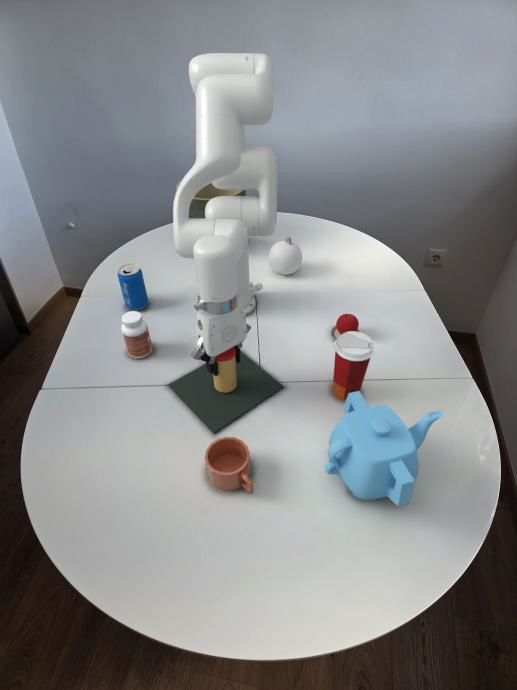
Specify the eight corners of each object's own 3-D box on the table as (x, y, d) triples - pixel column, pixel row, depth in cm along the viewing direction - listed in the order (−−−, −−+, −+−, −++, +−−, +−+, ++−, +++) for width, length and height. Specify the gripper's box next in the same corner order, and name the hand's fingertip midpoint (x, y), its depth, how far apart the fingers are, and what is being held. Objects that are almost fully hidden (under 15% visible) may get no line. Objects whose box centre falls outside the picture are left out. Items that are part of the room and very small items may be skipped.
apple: (325, 339, 112) (328, 319, 108) (336, 322, 117) (339, 303, 113) (355, 349, 109) (359, 329, 105) (364, 331, 114) (368, 311, 110)
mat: (235, 348, 110) (235, 346, 109) (283, 387, 100) (283, 386, 99) (168, 386, 100) (168, 384, 100) (214, 434, 90) (213, 432, 90)
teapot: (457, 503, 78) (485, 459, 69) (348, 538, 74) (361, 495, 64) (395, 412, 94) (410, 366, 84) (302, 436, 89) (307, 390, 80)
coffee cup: (366, 382, 101) (377, 334, 90) (360, 408, 95) (372, 359, 85) (331, 374, 103) (338, 326, 93) (323, 399, 97) (330, 350, 87)
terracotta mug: (199, 469, 84) (196, 453, 80) (232, 446, 88) (231, 429, 84) (234, 511, 77) (233, 495, 74) (268, 484, 81) (269, 468, 78)
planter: (246, 226, 160) (244, 171, 146) (248, 257, 143) (247, 198, 130) (186, 228, 159) (178, 173, 145) (182, 259, 142) (173, 200, 129)
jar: (227, 372, 102) (225, 337, 95) (242, 385, 99) (240, 349, 92) (209, 383, 99) (205, 348, 92) (223, 396, 96) (220, 361, 89)
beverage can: (121, 308, 122) (111, 272, 114) (134, 296, 127) (125, 260, 119) (140, 314, 121) (131, 277, 113) (153, 301, 125) (145, 265, 117)
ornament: (306, 269, 137) (309, 234, 129) (290, 284, 131) (292, 249, 123) (278, 260, 142) (280, 226, 134) (262, 274, 135) (262, 240, 127)
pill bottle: (156, 353, 108) (148, 319, 101) (133, 362, 106) (123, 328, 99) (147, 339, 112) (138, 305, 105) (124, 348, 110) (114, 314, 102)
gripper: (192, 326, 77) (202, 394, 89) (264, 290, 85) (264, 357, 97) (170, 307, 81) (182, 375, 93) (240, 275, 89) (243, 340, 101)
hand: (224, 365), depth 95 cm, fingers closed on jar, 5 cm apart
